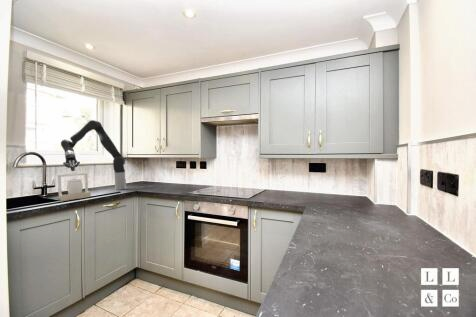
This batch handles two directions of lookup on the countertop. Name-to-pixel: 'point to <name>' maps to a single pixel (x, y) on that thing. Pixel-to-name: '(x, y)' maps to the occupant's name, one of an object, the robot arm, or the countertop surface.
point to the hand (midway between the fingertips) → (73, 170)
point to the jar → (74, 186)
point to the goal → (73, 196)
